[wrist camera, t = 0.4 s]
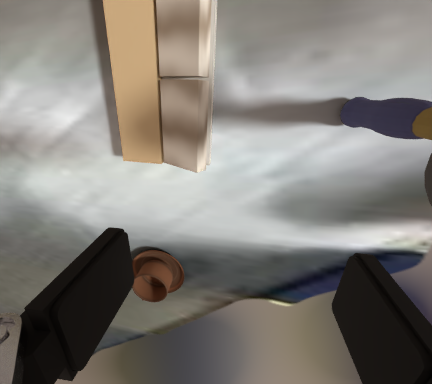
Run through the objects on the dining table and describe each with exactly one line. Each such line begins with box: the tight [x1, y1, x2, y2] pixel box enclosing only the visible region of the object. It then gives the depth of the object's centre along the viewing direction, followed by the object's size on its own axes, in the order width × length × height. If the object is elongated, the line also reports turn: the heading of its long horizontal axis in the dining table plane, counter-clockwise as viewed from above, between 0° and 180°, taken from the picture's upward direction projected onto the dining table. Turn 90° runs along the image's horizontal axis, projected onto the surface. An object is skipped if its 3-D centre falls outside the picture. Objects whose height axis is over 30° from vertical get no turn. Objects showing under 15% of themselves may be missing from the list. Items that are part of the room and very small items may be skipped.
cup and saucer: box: [132, 250, 184, 302], centre depth 46 cm, size 12×12×6 cm
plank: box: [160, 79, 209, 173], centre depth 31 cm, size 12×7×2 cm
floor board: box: [103, 0, 217, 165], centre depth 31 cm, size 25×14×4 cm, turn 177°
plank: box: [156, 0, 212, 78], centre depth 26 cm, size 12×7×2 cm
